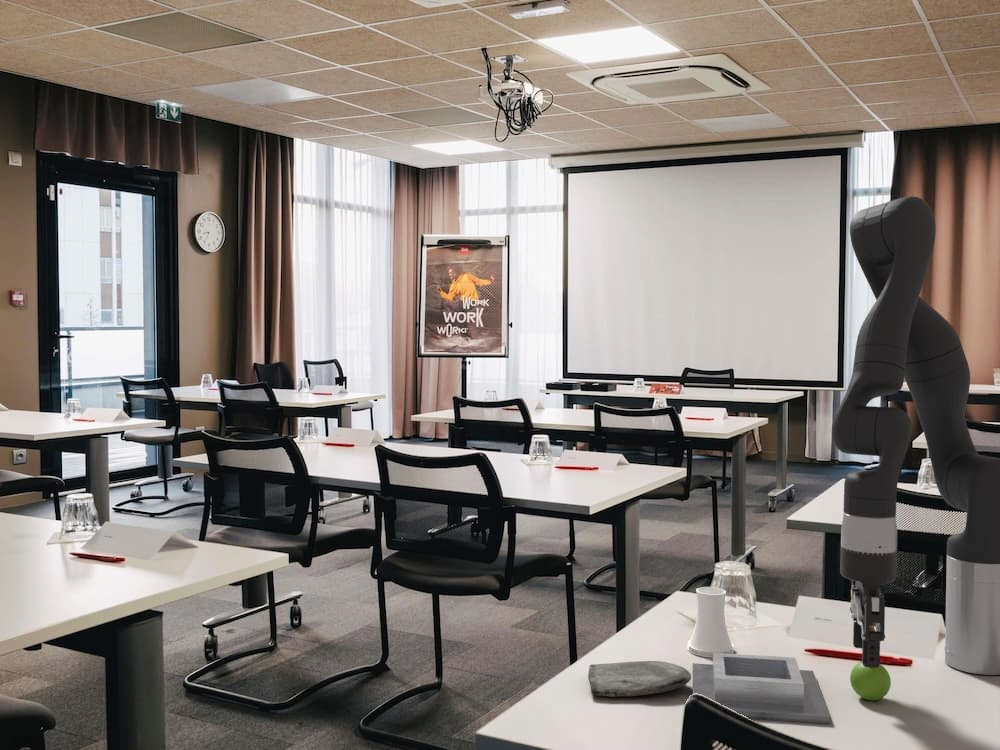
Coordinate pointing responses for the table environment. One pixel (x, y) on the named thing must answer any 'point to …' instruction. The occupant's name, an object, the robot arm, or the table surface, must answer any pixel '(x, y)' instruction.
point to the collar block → (762, 687)
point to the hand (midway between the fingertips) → (865, 656)
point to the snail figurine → (870, 680)
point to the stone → (636, 678)
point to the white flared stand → (710, 624)
